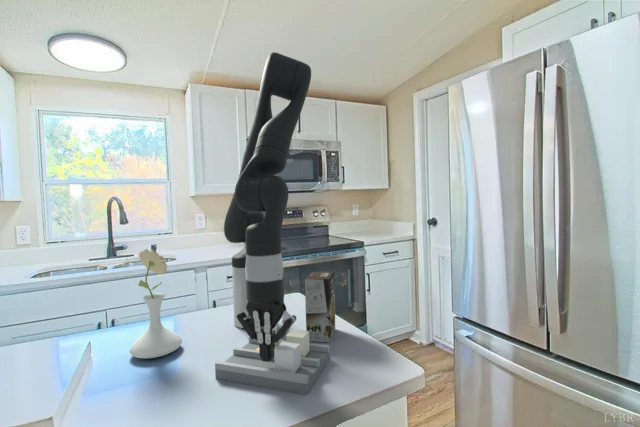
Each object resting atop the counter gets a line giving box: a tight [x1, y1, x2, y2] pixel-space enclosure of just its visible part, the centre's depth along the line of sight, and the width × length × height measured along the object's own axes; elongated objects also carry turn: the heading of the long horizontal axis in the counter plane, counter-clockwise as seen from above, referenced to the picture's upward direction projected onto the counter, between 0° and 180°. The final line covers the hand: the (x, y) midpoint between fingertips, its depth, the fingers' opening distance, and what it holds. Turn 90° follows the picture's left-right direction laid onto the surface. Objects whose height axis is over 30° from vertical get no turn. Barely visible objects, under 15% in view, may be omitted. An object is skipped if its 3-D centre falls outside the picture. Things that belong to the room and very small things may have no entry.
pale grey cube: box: [274, 342, 301, 373], centre depth 67 cm, size 4×4×4 cm
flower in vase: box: [129, 248, 183, 359], centre depth 81 cm, size 13×11×25 cm
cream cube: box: [285, 328, 310, 357], centre depth 73 cm, size 4×4×4 cm
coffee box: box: [304, 271, 336, 343], centre depth 88 cm, size 9×6×16 cm
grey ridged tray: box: [214, 336, 331, 396], centre depth 72 cm, size 20×14×3 cm
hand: (267, 359), depth 68 cm, fingers closed
